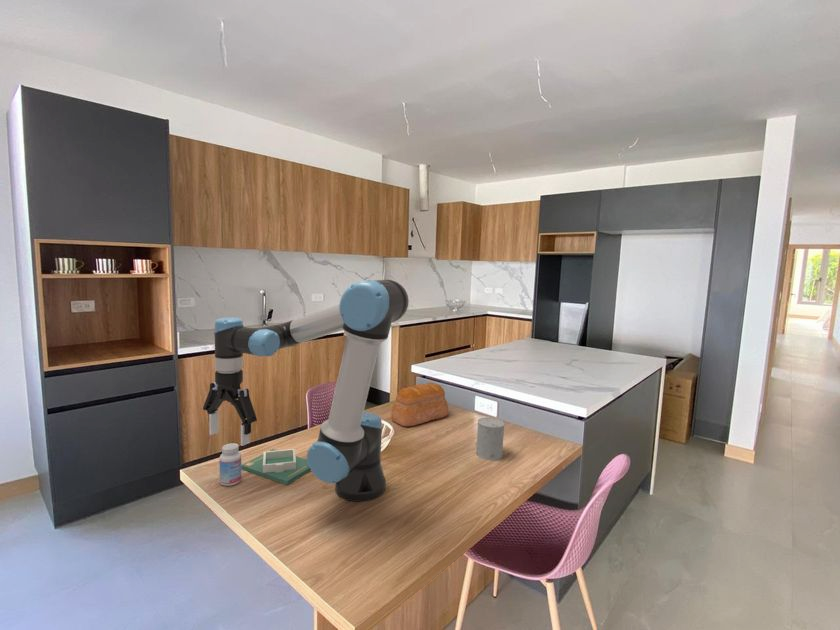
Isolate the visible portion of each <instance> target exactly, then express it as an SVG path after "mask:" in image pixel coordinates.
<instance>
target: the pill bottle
mask: <svg viewBox="0 0 840 630" xmlns="http://www.w3.org/2000/svg"><path fill="white" fill-rule="evenodd" d="M239 448H240V447H239V444H238V443H233V442H232V443H231V442H230V443H227V444H224V445H222V447H221V452H222V453H221V454H220V456H219V458H218V459H219V483H220V485H222V486H225V487H227V486H229V487H230V486H235V485H237V484H239V483H240V482H241V481H242V477H243V476H242V469H241V465H242V453H241V452H240V451H239Z"/></svg>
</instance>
